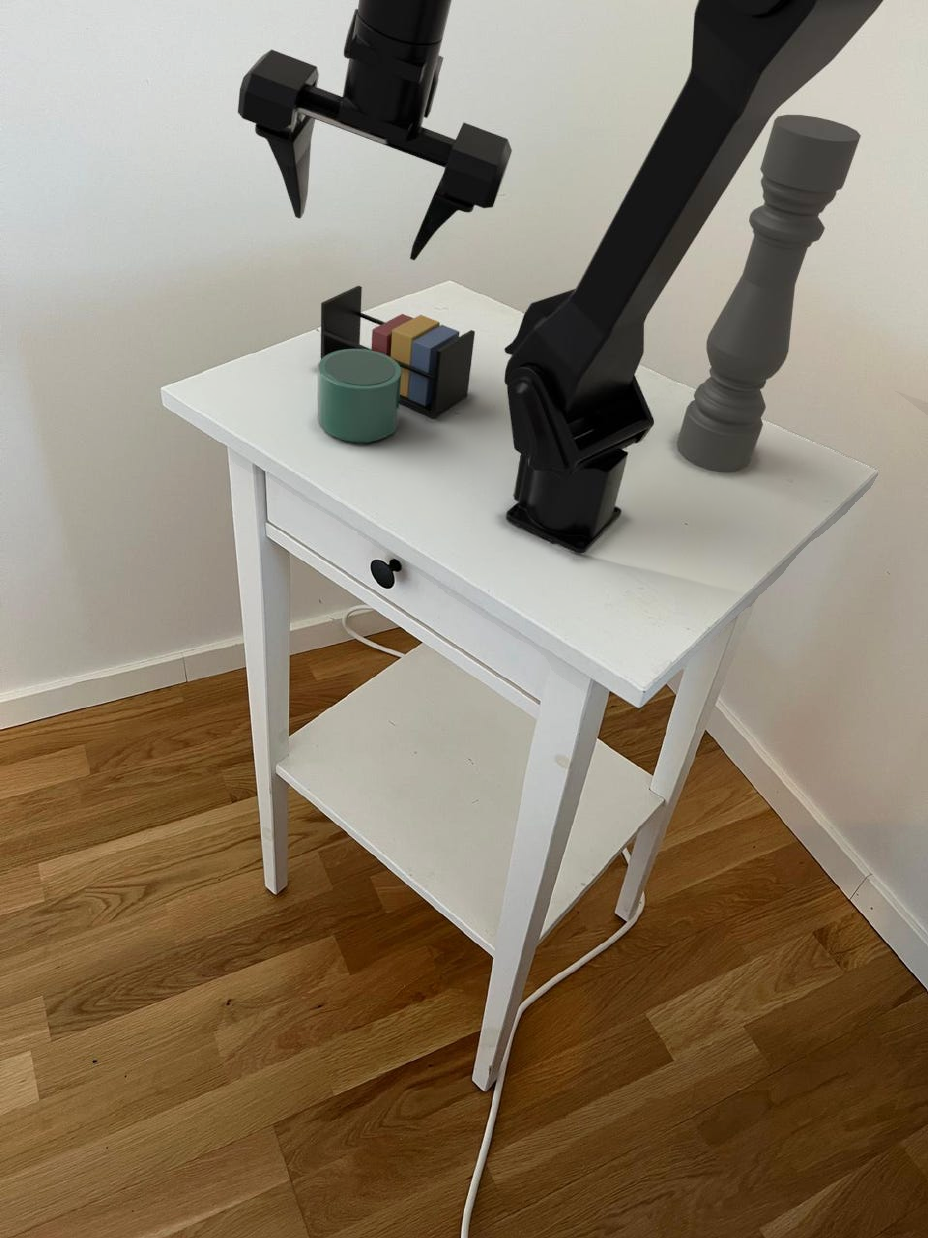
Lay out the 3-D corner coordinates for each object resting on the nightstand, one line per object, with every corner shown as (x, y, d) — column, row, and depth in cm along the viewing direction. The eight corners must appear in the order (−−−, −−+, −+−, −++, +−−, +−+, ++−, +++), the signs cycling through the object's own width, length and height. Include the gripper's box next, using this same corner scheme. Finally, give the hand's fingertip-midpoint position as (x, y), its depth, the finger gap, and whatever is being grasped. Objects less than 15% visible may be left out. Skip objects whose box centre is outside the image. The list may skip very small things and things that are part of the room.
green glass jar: (413, 423, 79) (418, 367, 76) (365, 455, 75) (367, 397, 72) (351, 396, 82) (353, 339, 78) (300, 425, 77) (300, 367, 74)
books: (453, 388, 84) (460, 329, 80) (425, 406, 81) (431, 345, 77) (398, 365, 86) (402, 306, 82) (369, 382, 83) (372, 322, 79)
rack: (467, 396, 84) (475, 330, 80) (433, 419, 80) (440, 351, 76) (356, 349, 88) (358, 284, 84) (319, 369, 85) (320, 302, 81)
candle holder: (673, 461, 79) (770, 131, 63) (679, 425, 84) (771, 107, 67) (749, 478, 79) (867, 148, 62) (751, 440, 83) (862, 124, 67)
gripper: (551, 31, 70) (488, 228, 82) (299, -68, 68) (273, 148, 80) (528, 93, 62) (463, 299, 74) (246, -16, 61) (226, 212, 73)
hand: (356, 236), depth 76 cm, fingers open, 9 cm apart
